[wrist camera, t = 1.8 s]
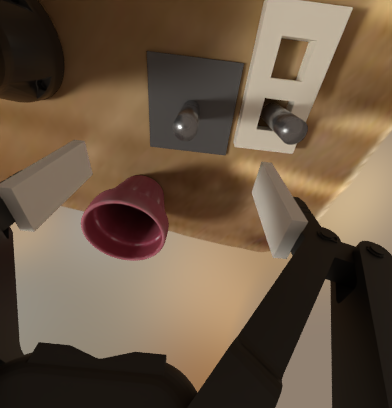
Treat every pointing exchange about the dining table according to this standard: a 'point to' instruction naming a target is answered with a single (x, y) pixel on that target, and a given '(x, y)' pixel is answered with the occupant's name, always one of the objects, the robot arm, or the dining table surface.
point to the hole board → (308, 74)
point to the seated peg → (284, 123)
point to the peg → (187, 121)
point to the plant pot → (128, 220)
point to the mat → (192, 90)
